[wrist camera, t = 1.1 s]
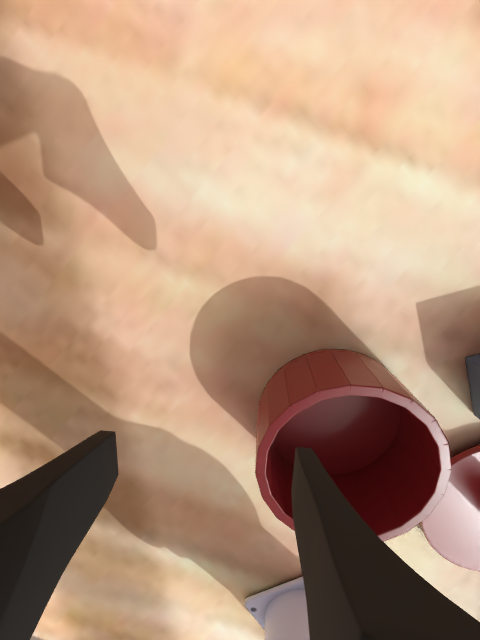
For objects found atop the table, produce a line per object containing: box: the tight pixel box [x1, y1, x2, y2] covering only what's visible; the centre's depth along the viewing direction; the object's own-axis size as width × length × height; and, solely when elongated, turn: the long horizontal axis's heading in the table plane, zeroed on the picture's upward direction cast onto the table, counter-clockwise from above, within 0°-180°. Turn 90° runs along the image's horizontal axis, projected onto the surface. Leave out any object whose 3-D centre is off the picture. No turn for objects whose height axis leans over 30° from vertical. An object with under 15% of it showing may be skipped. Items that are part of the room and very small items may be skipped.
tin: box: [255, 349, 452, 542], centre depth 19 cm, size 10×10×5 cm
